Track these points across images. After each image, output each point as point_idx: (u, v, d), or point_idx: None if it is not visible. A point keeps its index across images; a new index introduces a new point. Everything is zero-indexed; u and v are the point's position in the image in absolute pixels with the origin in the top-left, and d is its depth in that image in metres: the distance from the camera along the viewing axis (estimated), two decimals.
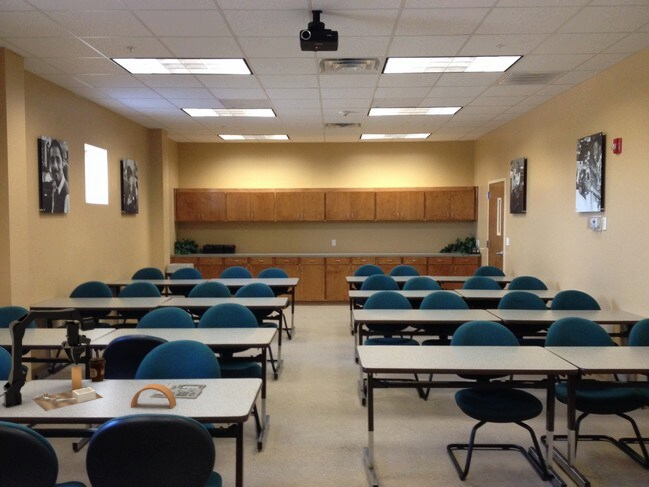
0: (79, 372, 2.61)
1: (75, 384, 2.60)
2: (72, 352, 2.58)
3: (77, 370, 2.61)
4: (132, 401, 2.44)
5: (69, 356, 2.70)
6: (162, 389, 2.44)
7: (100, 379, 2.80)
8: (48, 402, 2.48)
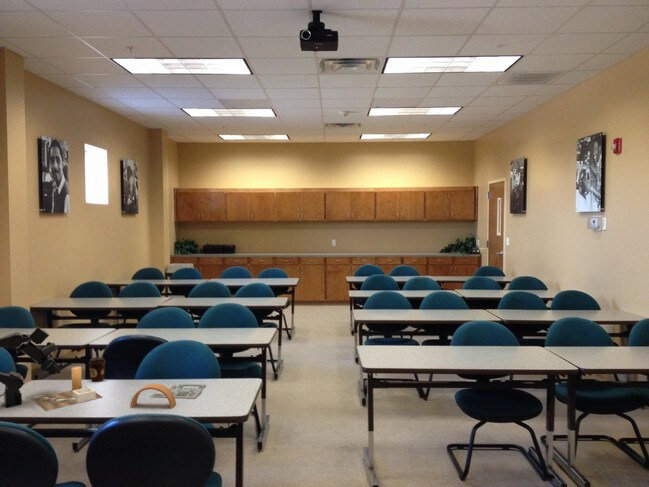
0: (79, 372, 2.61)
1: (75, 384, 2.60)
2: (43, 370, 2.47)
3: (77, 370, 2.61)
4: (132, 401, 2.44)
5: None
6: (162, 389, 2.44)
7: (100, 379, 2.80)
8: (48, 402, 2.48)
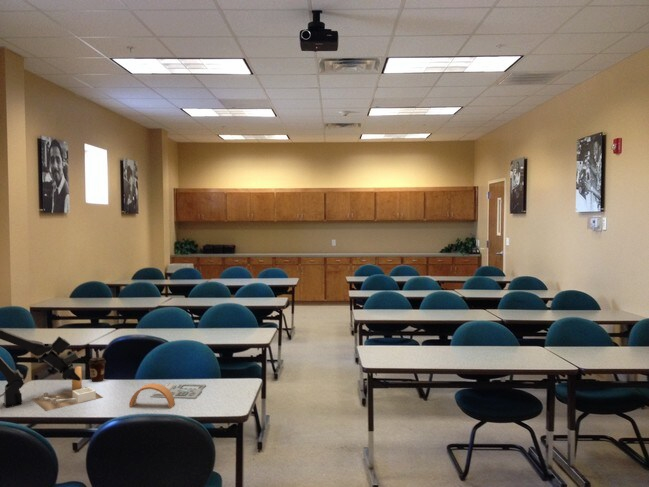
0: (79, 372, 2.61)
1: (75, 384, 2.60)
2: None
3: (77, 370, 2.61)
4: (131, 401, 2.44)
5: None
6: (161, 389, 2.44)
7: (100, 379, 2.80)
8: (48, 402, 2.48)
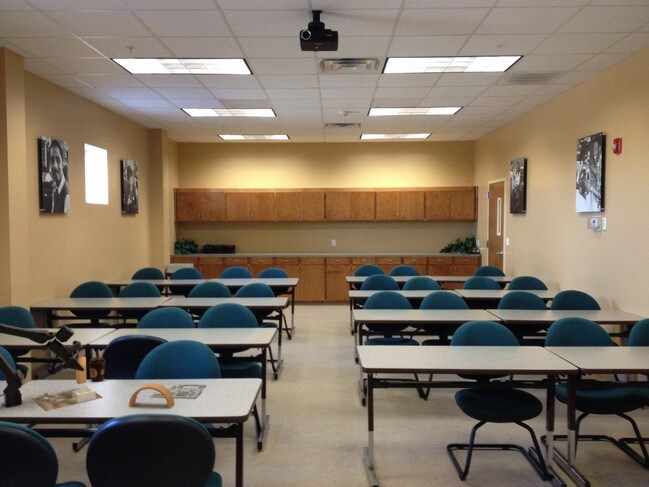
0: (83, 362, 2.57)
1: (79, 374, 2.56)
2: None
3: (81, 360, 2.56)
4: (130, 400, 2.45)
5: None
6: (160, 389, 2.45)
7: (100, 379, 2.80)
8: (48, 402, 2.48)
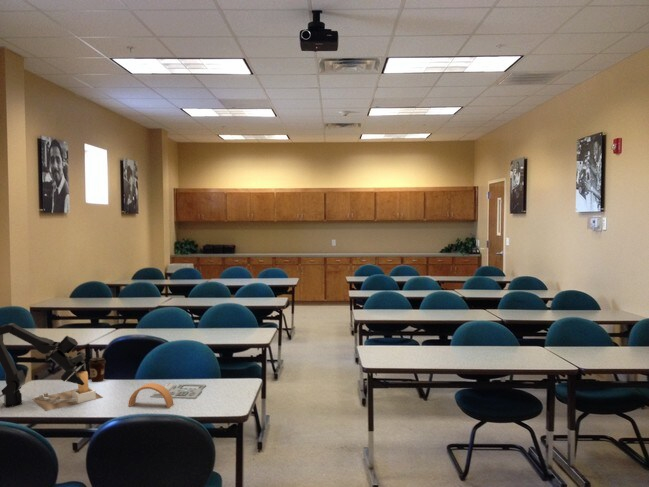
0: (84, 377, 2.51)
1: (80, 390, 2.50)
2: None
3: (81, 375, 2.50)
4: (130, 400, 2.45)
5: None
6: (159, 389, 2.45)
7: (100, 379, 2.80)
8: (48, 402, 2.48)
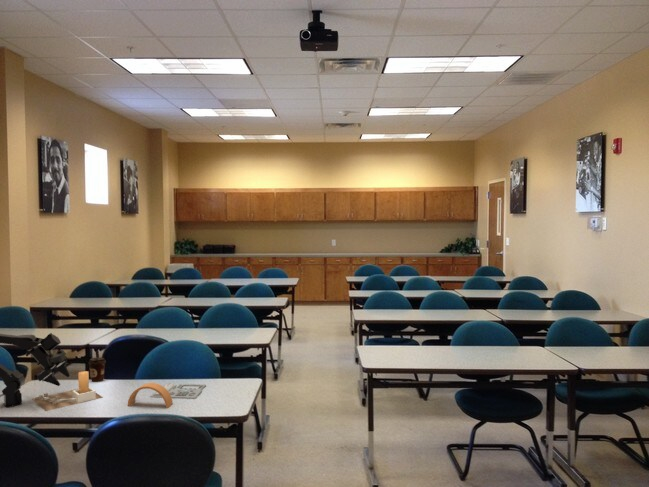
0: (84, 377, 2.51)
1: (80, 389, 2.50)
2: (40, 380, 2.44)
3: (82, 375, 2.50)
4: (129, 400, 2.46)
5: (64, 373, 2.57)
6: (158, 388, 2.45)
7: (100, 379, 2.80)
8: (48, 402, 2.48)
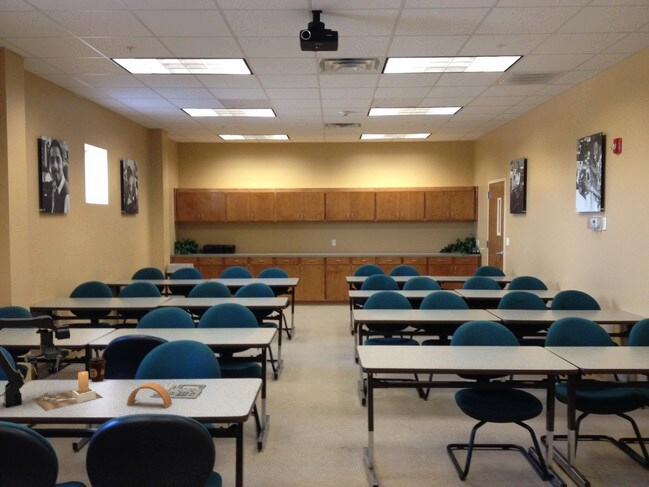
0: (84, 378, 2.50)
1: (80, 390, 2.50)
2: None
3: (82, 376, 2.50)
4: (128, 399, 2.46)
5: (57, 365, 2.59)
6: (157, 388, 2.45)
7: (100, 379, 2.80)
8: (48, 402, 2.48)
